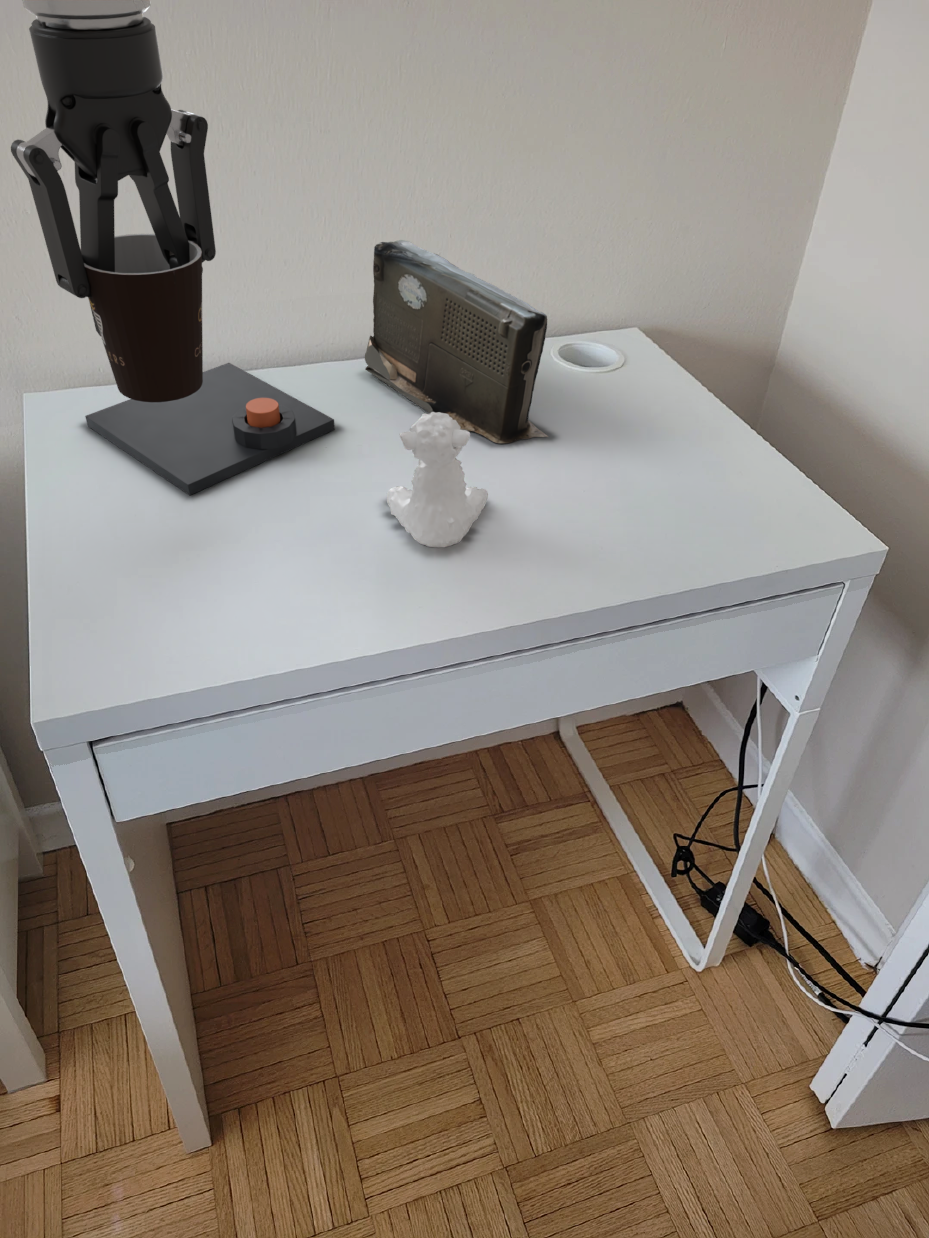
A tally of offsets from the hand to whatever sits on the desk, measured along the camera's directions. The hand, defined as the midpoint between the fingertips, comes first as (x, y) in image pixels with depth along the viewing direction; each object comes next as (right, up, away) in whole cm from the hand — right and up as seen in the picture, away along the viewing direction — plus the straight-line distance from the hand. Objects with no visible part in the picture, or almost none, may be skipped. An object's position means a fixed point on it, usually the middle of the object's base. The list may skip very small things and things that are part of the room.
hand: (158, 365), depth 74 cm
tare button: (+4, 0, +21) cm, 21 cm away
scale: (-2, 0, +25) cm, 25 cm away
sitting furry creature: (+22, -12, +13) cm, 28 cm away
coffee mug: (0, -1, +1) cm, 1 cm away
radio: (+23, +4, +31) cm, 39 cm away
